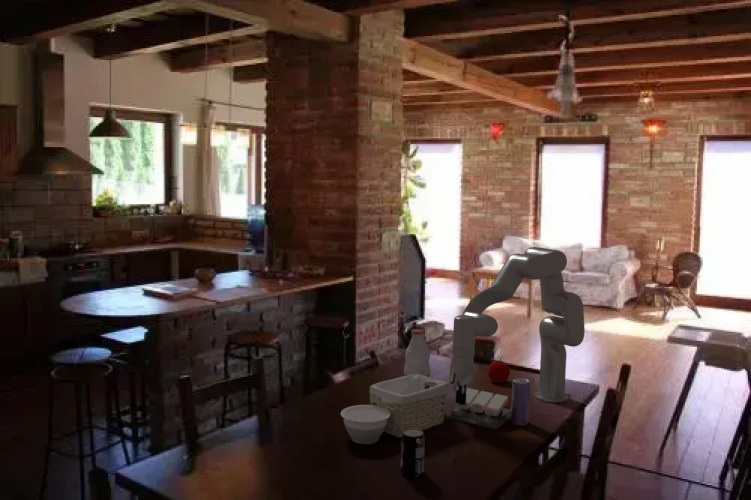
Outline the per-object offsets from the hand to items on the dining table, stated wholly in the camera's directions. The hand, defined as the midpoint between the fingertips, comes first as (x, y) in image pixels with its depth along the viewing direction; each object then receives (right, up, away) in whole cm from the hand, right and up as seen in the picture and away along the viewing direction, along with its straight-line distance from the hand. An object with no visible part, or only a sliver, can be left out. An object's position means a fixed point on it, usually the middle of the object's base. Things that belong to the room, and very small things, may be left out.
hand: (460, 403), depth 238 cm
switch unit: (+7, -6, +2) cm, 9 cm away
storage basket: (-18, -7, -6) cm, 20 cm away
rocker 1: (+3, +1, +4) cm, 5 cm away
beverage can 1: (-19, -10, -43) cm, 48 cm away
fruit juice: (-14, -4, +15) cm, 21 cm away
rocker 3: (+12, 0, -2) cm, 12 cm away
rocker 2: (+7, 0, +1) cm, 8 cm away
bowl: (-33, -7, -18) cm, 38 cm away
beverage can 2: (+20, -7, -2) cm, 21 cm away
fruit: (+21, -1, +45) cm, 50 cm away
